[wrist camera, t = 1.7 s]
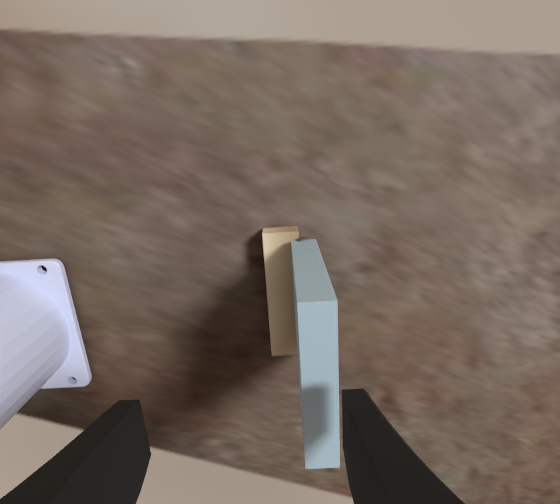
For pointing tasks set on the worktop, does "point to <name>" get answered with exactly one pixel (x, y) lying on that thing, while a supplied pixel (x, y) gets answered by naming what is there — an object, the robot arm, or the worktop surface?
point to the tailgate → (316, 354)
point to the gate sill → (280, 288)
